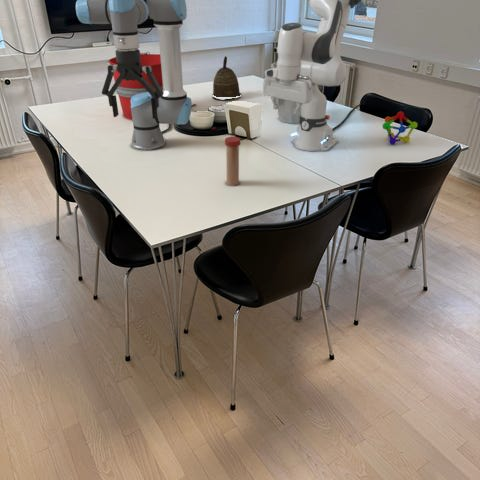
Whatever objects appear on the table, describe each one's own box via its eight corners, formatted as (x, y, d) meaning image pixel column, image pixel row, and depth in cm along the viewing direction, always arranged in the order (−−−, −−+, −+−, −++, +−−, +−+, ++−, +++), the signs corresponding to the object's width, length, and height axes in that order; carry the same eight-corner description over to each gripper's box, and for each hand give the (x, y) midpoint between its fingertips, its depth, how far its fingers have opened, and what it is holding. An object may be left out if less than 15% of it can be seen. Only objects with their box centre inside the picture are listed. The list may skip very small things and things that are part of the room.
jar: (241, 184, 171) (241, 141, 161) (230, 186, 169) (230, 143, 159) (234, 179, 174) (234, 137, 165) (224, 182, 172) (223, 139, 163)
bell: (227, 105, 294) (202, 96, 282) (238, 66, 289) (213, 55, 277) (243, 108, 280) (217, 98, 268) (255, 66, 275) (229, 55, 263)
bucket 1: (122, 105, 264) (115, 51, 248) (181, 105, 263) (177, 51, 248) (106, 122, 235) (96, 62, 219) (171, 123, 234) (167, 63, 218)
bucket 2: (296, 131, 225) (301, 73, 210) (257, 117, 244) (258, 64, 229) (334, 119, 242) (340, 65, 227) (294, 108, 260) (297, 57, 246)
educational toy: (377, 146, 209) (379, 114, 202) (384, 138, 219) (386, 107, 211) (411, 149, 202) (415, 116, 195) (417, 141, 212) (420, 109, 204)
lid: (243, 145, 162) (243, 140, 161) (229, 147, 160) (229, 142, 159) (235, 140, 166) (235, 135, 165) (222, 143, 164) (222, 138, 163)
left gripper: (84, 50, 136) (95, 118, 148) (163, 52, 134) (168, 121, 145) (93, 46, 143) (104, 112, 154) (169, 48, 140) (174, 114, 152)
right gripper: (317, 75, 157) (313, 114, 164) (271, 68, 168) (269, 104, 176) (307, 78, 153) (304, 118, 160) (261, 70, 164) (259, 108, 172)
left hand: (135, 116), depth 150 cm, fingers open, 13 cm apart
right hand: (285, 111), depth 168 cm, fingers open, 8 cm apart
